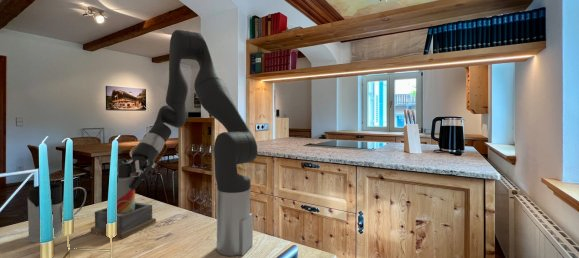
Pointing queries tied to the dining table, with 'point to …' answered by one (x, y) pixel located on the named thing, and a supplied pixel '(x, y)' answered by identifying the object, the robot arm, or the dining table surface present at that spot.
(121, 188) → the lotion bottle
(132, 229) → the dark grey open box
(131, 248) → the dining table surface
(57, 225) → the grey mug
